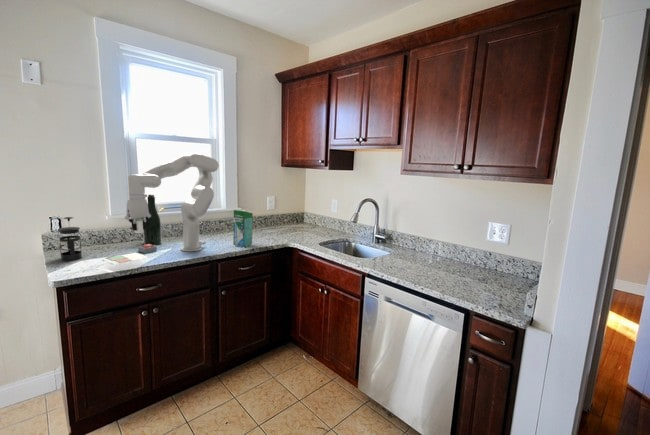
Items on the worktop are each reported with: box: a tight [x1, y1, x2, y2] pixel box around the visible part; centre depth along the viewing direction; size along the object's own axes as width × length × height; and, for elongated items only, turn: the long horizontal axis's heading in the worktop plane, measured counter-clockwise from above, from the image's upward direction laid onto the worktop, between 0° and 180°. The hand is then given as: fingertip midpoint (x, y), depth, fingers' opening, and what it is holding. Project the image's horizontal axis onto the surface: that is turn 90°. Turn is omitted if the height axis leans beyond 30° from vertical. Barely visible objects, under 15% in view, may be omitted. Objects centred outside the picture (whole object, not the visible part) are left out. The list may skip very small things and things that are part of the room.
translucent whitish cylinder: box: [134, 218, 144, 234], centre depth 177 cm, size 4×4×8 cm
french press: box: [58, 216, 83, 262], centre depth 171 cm, size 12×9×23 cm
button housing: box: [137, 245, 158, 254], centre depth 191 cm, size 7×7×4 cm
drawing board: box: [101, 252, 149, 265], centre depth 176 cm, size 20×16×1 cm
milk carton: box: [232, 209, 254, 248], centre depth 218 cm, size 9×9×25 cm
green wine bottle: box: [143, 194, 162, 246], centre depth 210 cm, size 10×10×33 cm
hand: (138, 229), depth 177 cm, fingers closed on translucent whitish cylinder, 4 cm apart
